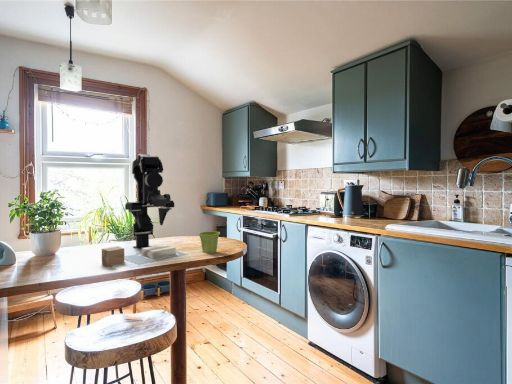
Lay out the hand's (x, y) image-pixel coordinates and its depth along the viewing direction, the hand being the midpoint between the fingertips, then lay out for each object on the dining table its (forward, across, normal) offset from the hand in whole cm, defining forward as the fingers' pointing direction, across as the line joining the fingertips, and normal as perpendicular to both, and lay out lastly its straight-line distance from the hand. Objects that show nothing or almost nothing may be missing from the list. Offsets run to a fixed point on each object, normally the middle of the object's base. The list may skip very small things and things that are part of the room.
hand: (151, 226), depth 124 cm
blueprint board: (+13, +3, +3) cm, 14 cm away
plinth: (+13, +5, +3) cm, 14 cm away
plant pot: (+14, +24, -8) cm, 28 cm away
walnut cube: (+14, -13, +5) cm, 20 cm away
